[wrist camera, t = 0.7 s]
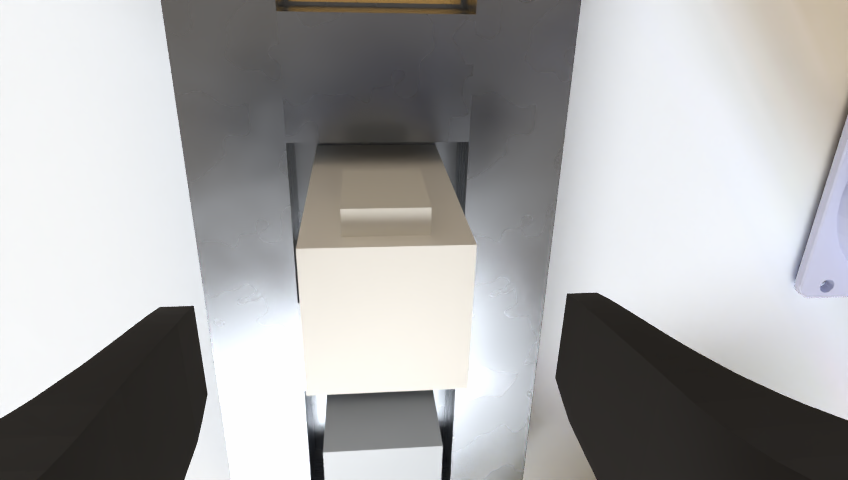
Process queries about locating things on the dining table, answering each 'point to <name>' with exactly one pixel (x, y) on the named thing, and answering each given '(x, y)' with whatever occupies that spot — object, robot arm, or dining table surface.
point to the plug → (384, 272)
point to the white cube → (382, 436)
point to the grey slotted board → (369, 125)
